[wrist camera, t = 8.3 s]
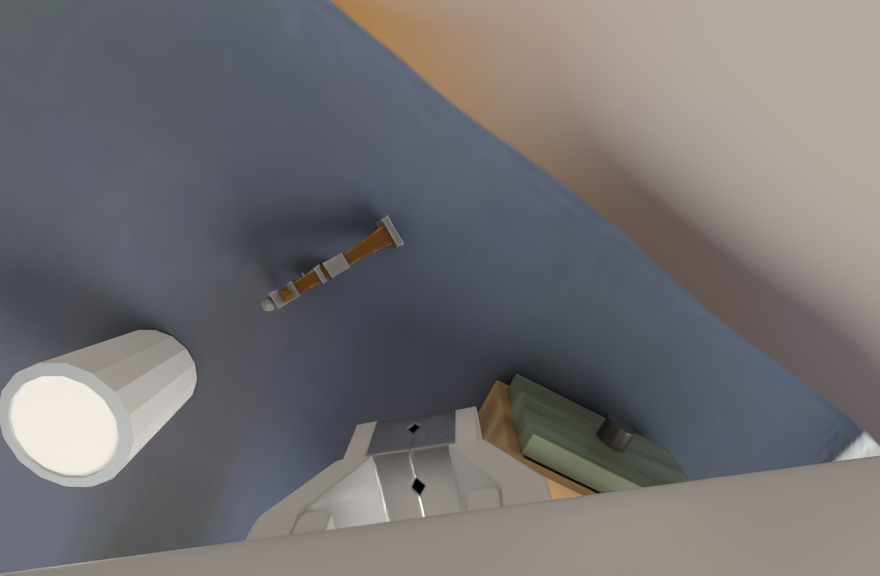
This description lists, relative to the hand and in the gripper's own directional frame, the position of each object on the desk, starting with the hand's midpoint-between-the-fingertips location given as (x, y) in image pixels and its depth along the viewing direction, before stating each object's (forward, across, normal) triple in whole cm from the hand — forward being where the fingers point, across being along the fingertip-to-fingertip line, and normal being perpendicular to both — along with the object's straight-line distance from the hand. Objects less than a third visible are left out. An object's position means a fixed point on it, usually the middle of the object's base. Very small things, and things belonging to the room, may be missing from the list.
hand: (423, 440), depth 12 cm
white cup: (+17, +19, +2) cm, 26 cm away
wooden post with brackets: (+17, +6, -2) cm, 18 cm away
